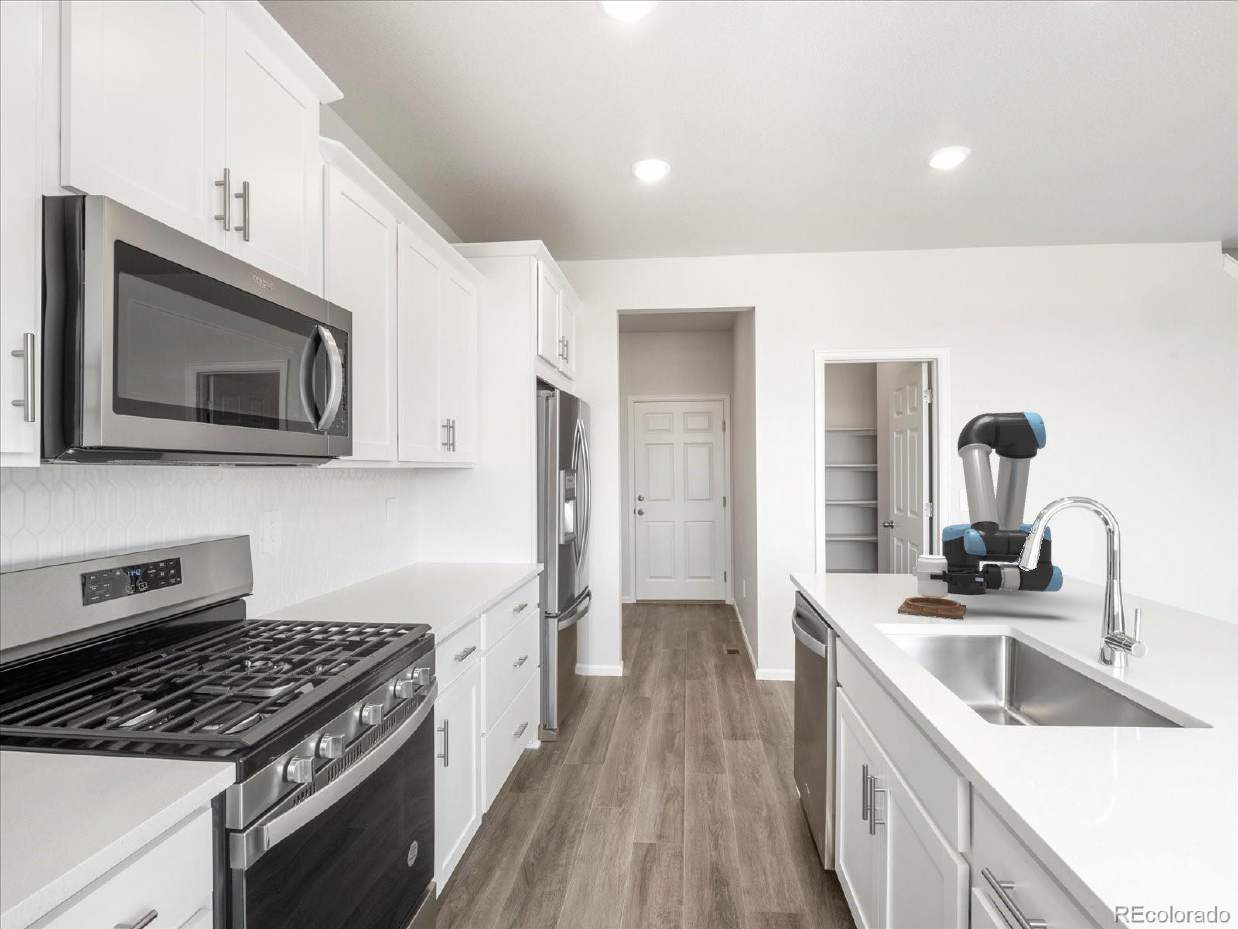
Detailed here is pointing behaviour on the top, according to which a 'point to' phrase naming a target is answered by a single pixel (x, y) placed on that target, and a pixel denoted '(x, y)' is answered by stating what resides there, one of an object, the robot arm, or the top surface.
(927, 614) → the coaster board
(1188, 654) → the top surface
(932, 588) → the beverage can
